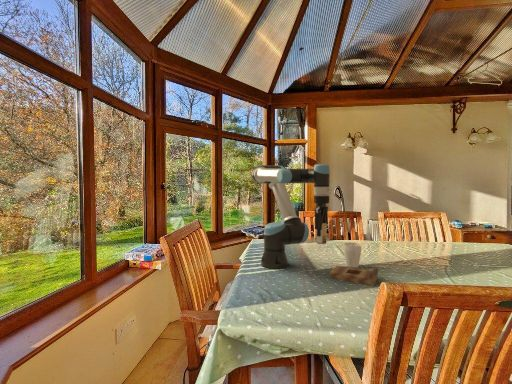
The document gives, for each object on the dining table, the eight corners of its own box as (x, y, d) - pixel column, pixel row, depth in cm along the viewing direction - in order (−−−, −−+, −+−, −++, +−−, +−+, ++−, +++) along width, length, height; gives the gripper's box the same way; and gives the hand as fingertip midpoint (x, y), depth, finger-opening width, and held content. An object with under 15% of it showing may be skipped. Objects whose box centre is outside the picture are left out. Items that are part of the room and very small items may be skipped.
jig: (329, 277, 140) (329, 267, 140) (336, 270, 150) (336, 261, 150) (373, 286, 130) (373, 275, 130) (377, 277, 140) (377, 267, 140)
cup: (349, 269, 153) (350, 246, 153) (340, 264, 162) (340, 243, 161) (364, 267, 156) (364, 245, 155) (354, 262, 164) (354, 242, 164)
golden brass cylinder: (314, 243, 144) (314, 223, 143) (318, 241, 148) (318, 222, 148) (324, 244, 141) (324, 224, 141) (327, 242, 145) (327, 222, 145)
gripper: (322, 196, 134) (322, 246, 135) (334, 194, 149) (334, 238, 150) (307, 196, 138) (307, 244, 139) (320, 194, 153) (320, 237, 154)
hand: (321, 241), depth 145 cm, fingers closed on golden brass cylinder, 5 cm apart
